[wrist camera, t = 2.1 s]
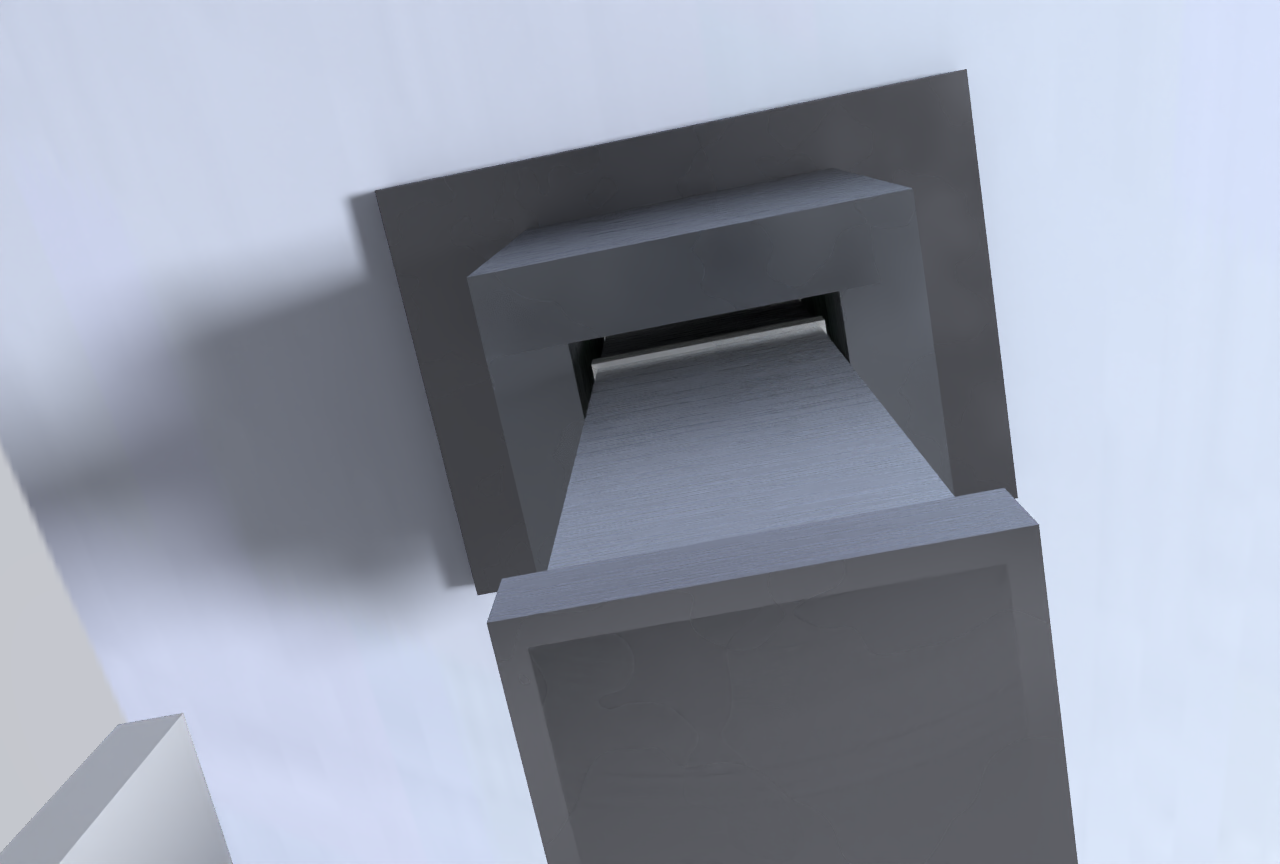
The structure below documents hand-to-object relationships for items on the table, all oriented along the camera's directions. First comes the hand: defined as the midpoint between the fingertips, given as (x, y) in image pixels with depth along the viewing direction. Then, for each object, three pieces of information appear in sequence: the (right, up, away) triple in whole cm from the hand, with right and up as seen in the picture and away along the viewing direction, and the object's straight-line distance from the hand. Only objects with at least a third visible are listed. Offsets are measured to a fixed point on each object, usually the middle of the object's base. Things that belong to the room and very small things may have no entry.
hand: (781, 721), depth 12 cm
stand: (0, +6, +20) cm, 21 cm away
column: (0, +5, +19) cm, 20 cm away
